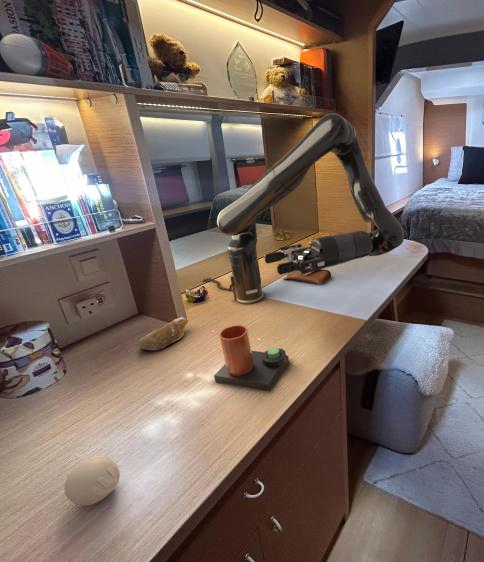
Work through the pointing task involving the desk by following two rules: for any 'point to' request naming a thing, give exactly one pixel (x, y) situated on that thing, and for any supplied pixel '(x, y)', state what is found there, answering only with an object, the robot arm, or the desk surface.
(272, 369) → the scale
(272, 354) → the scale button
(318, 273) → the sunglasses case
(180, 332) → the stone
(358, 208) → the robot arm
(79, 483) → the tan rounded lump
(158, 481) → the desk surface
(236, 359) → the cup
